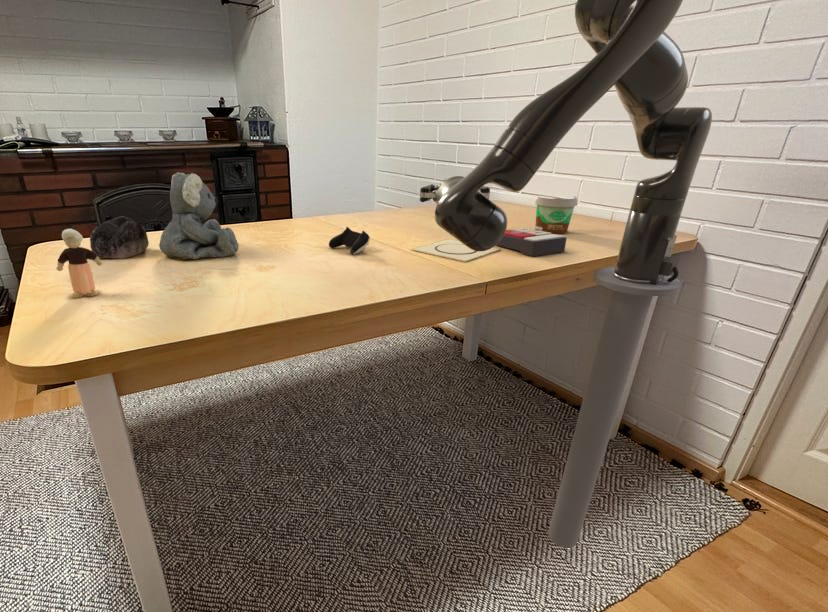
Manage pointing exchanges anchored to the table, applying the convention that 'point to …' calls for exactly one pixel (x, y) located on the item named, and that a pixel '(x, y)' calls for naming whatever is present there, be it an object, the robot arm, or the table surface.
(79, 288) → the grandmother figurine
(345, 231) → the gaming controller
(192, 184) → the koala plush
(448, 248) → the paper sheet
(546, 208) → the food container
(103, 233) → the dark grey furry dome
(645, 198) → the robot arm
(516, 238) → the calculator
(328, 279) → the table surface
